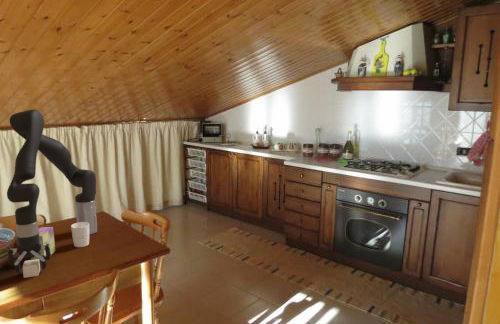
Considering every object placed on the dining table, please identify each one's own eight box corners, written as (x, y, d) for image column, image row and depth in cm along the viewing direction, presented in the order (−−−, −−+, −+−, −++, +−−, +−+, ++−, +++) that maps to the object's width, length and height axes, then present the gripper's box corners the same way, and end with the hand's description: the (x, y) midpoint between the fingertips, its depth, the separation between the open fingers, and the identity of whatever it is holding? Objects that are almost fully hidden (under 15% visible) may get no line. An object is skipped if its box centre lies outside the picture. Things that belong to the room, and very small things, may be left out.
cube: (40, 270, 149) (39, 258, 148) (38, 275, 144) (37, 264, 143) (26, 272, 147) (25, 260, 146) (23, 278, 142) (22, 266, 142)
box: (42, 251, 166) (40, 226, 163) (55, 251, 166) (53, 226, 164) (31, 261, 156) (28, 236, 153) (44, 261, 156) (42, 235, 154)
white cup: (94, 242, 176) (92, 223, 174) (81, 249, 169) (80, 228, 167) (81, 240, 179) (80, 221, 177) (68, 246, 171) (67, 226, 169)
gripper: (49, 227, 148) (52, 264, 151) (8, 231, 143) (13, 269, 146) (46, 234, 141) (50, 272, 145) (4, 239, 136) (8, 278, 139)
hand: (31, 270), depth 145 cm, fingers open, 8 cm apart
